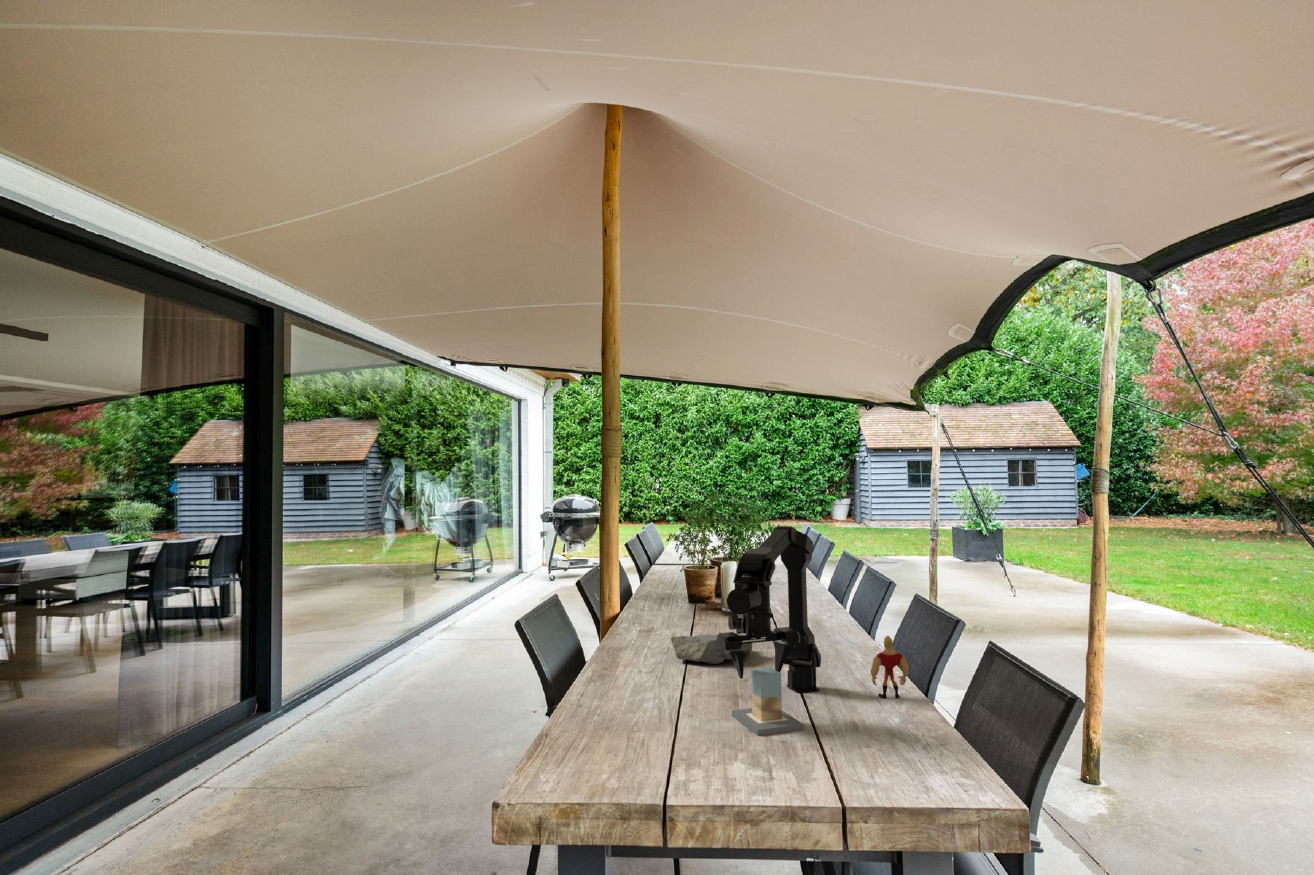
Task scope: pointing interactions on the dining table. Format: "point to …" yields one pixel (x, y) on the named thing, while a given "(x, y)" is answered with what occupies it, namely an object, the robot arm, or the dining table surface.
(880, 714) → the dining table surface
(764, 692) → the blue block
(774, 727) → the board
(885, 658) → the action figure
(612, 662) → the dining table surface
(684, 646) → the stone
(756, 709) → the oak block
